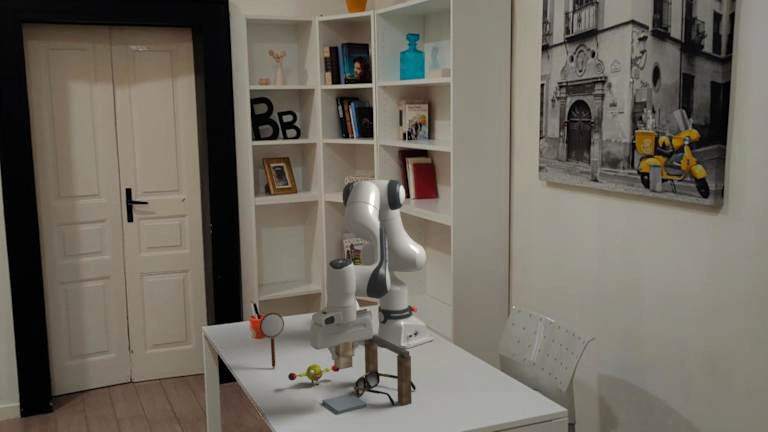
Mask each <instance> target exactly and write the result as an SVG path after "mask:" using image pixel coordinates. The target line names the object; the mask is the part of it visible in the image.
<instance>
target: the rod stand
mask: <svg viewBox="0 0 768 432" xmlns="http://www.w3.org/2000/svg"><path fill="white" fill-rule="evenodd" d="M378 354H379V353H378V344H376V343H374V342H372V341H370V340H364V364H365V365H364V366H365V367H364V368H365V369H364V370H365V372H364V373H365V374H366V373H368V372H371V371H373V370H376V371H378V372H379V362H378V361H379V360H378V358H379V355H378ZM411 359H412V357H411V355H409V357H406V358H404V357H402V356H400V355H398V354H397V355H396V365H397V366H396V368H397V369H396V371H397V373H396V374H397V375H396V376H397V379H396V380H397V403H398V404H400V405H402V406H406V405H407V406H408V405H411V404H412V386H411V381H412V360H411ZM365 374H364V375H365Z"/></svg>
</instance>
